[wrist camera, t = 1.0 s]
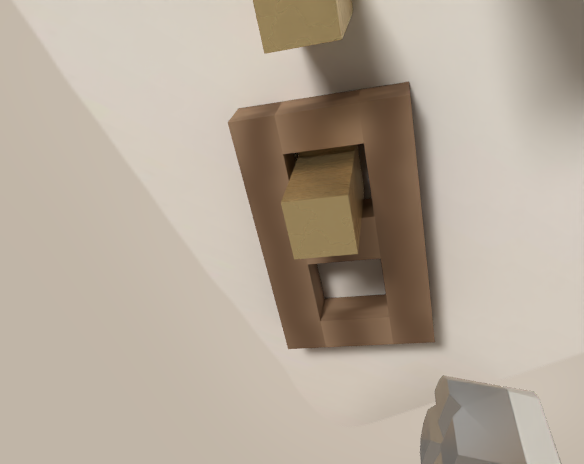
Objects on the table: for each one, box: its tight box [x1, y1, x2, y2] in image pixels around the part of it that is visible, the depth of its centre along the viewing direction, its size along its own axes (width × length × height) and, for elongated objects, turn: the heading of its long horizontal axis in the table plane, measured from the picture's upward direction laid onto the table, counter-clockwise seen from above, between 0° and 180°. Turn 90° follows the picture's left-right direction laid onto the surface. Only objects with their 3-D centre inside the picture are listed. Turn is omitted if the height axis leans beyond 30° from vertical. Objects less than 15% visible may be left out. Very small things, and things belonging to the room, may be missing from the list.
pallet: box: [228, 82, 435, 349], centre depth 41 cm, size 12×20×3 cm, turn 12°
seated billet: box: [281, 144, 364, 259], centre depth 36 cm, size 4×4×9 cm
